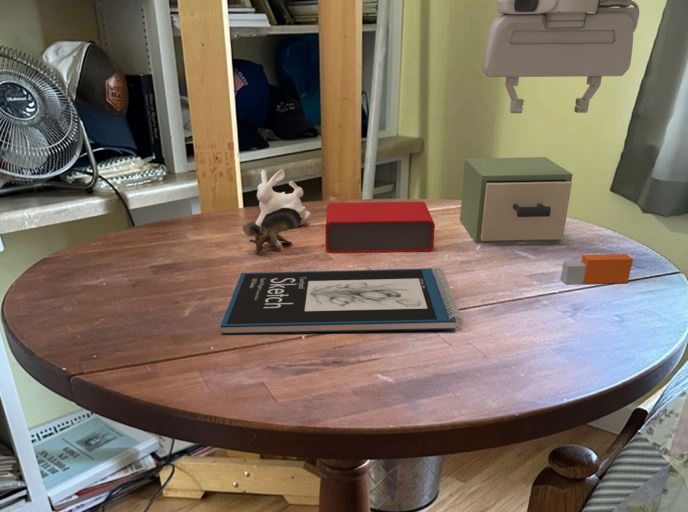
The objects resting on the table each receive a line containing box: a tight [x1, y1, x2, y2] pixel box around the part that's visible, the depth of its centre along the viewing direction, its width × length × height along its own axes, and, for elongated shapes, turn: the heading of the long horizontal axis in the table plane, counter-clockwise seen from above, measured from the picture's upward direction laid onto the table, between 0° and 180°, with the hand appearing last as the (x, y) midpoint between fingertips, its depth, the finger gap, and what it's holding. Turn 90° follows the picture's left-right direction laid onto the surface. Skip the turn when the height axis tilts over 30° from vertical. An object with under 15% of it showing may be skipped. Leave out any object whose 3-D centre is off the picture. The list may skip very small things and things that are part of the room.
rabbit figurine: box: [254, 168, 312, 227], centre depth 131 cm, size 12×8×10 cm, turn 95°
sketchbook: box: [219, 266, 464, 335], centre depth 95 cm, size 22×30×2 cm
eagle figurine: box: [241, 207, 302, 255], centre depth 118 cm, size 8×7×9 cm
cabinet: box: [459, 156, 573, 244], centre depth 124 cm, size 17×15×11 cm
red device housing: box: [324, 201, 436, 254], centre depth 121 cm, size 18×14×5 cm
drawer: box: [481, 180, 573, 241], centre depth 120 cm, size 21×14×9 cm, turn 0°
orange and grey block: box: [560, 253, 634, 285], centre depth 101 cm, size 9×3×4 cm, turn 90°
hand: (548, 112), depth 102 cm, fingers open, 8 cm apart
